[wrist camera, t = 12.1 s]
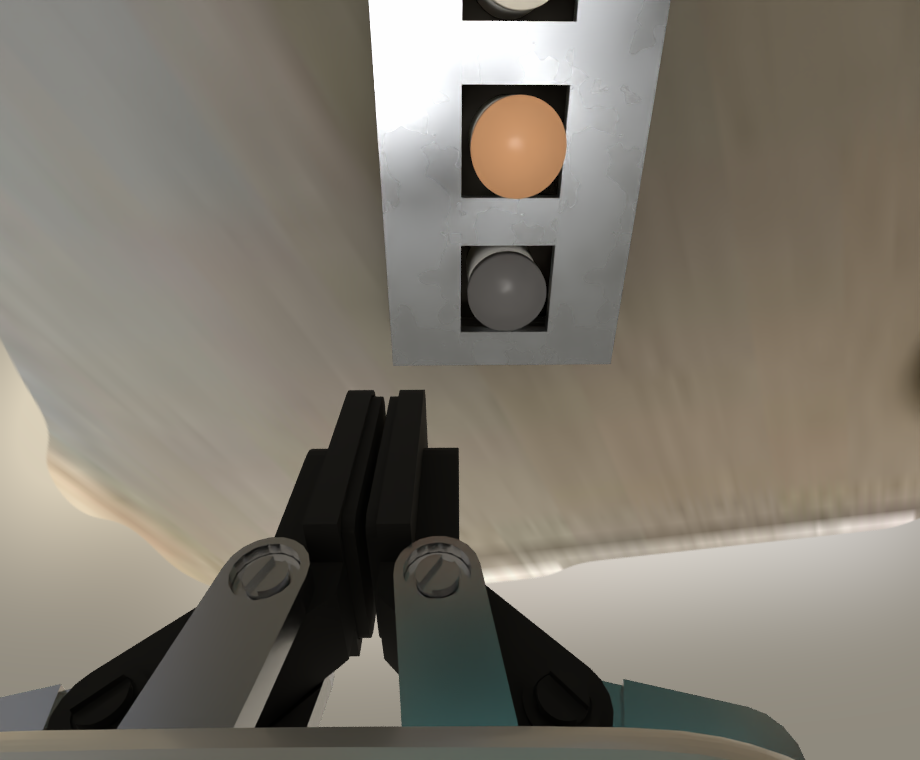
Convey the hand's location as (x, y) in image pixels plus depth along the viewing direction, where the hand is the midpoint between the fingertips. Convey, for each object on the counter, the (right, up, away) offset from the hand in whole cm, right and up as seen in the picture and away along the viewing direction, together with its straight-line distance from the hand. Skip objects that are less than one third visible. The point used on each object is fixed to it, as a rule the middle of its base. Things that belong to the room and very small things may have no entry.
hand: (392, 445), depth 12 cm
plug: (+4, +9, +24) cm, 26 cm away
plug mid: (+4, +16, +19) cm, 25 cm away
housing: (+4, +17, +21) cm, 27 cm away
